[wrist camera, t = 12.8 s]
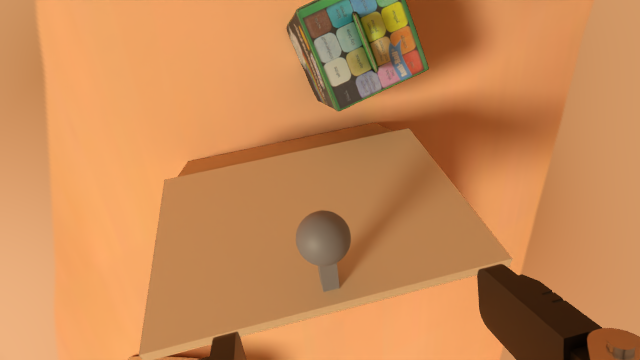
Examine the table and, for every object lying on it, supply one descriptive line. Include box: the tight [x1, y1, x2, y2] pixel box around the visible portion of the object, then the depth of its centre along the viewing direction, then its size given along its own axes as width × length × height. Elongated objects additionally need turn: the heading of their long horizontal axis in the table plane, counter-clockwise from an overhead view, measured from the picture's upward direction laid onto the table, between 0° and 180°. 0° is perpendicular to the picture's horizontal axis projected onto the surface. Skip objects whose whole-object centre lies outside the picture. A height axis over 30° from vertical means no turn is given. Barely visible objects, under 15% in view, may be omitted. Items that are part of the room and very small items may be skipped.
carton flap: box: [139, 128, 512, 360], centre depth 27 cm, size 16×22×6 cm
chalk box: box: [287, 0, 429, 111], centre depth 36 cm, size 9×9×15 cm
